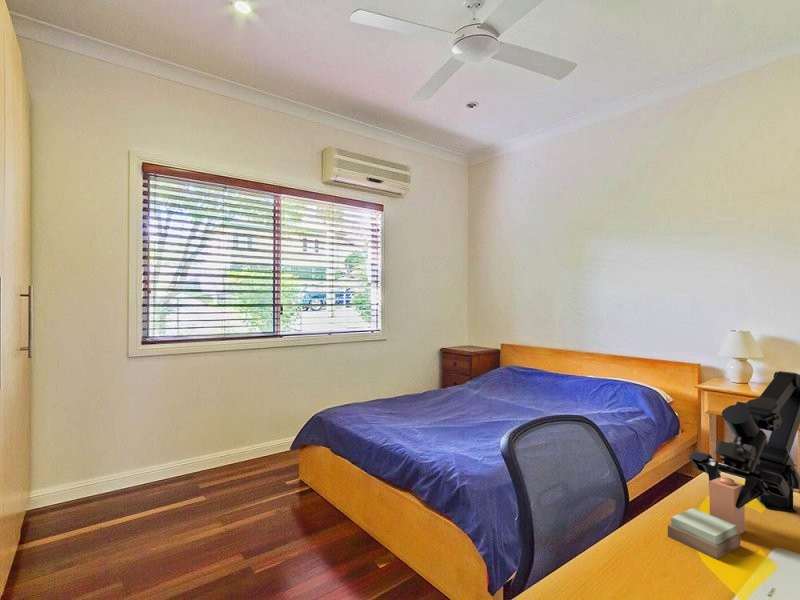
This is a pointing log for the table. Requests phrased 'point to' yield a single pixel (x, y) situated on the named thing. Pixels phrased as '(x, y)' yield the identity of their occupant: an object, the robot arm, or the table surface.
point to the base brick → (704, 533)
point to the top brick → (727, 502)
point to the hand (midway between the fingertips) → (723, 502)
